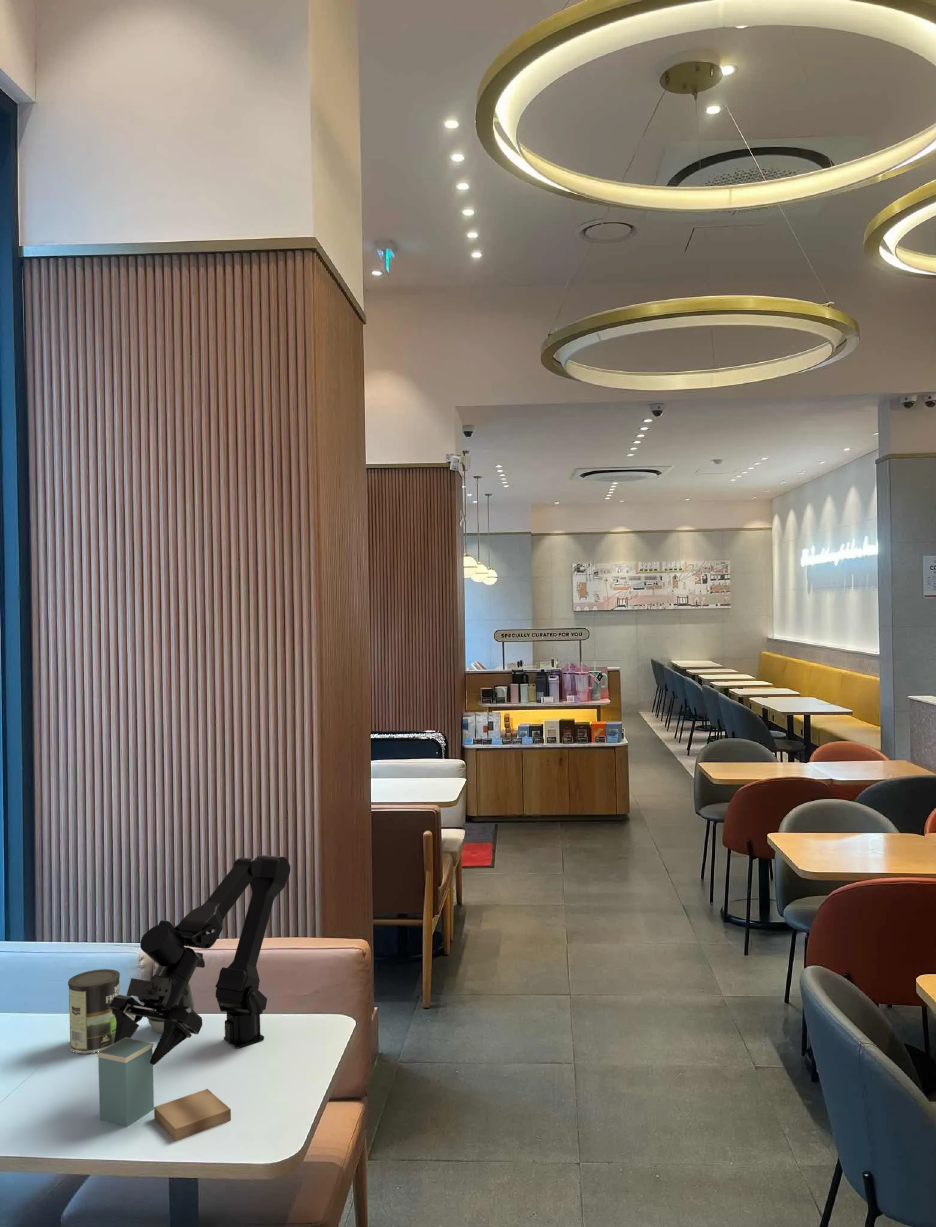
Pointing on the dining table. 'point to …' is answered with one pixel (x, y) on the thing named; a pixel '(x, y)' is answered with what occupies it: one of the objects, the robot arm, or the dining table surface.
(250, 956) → the robot arm
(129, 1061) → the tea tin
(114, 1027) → the coffee can
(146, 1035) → the dining table surface
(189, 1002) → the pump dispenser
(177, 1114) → the block
